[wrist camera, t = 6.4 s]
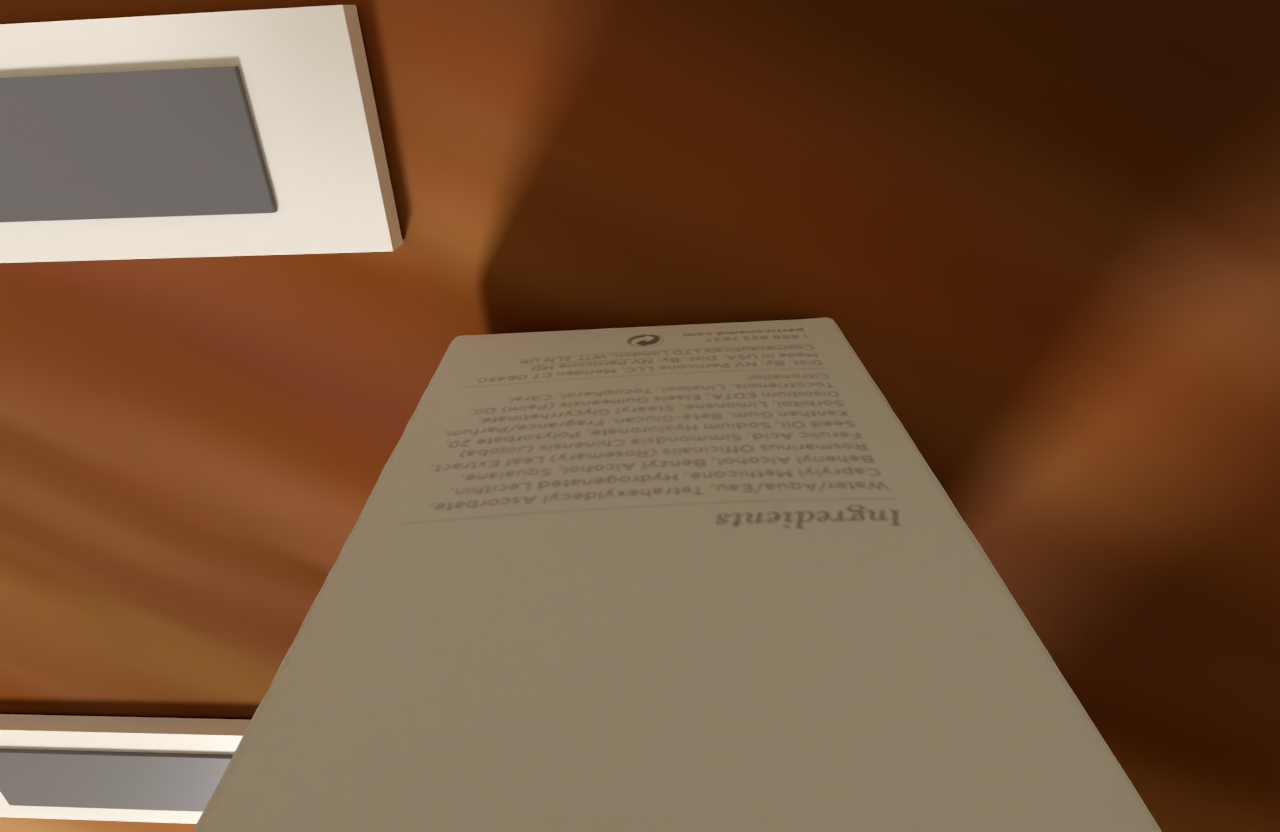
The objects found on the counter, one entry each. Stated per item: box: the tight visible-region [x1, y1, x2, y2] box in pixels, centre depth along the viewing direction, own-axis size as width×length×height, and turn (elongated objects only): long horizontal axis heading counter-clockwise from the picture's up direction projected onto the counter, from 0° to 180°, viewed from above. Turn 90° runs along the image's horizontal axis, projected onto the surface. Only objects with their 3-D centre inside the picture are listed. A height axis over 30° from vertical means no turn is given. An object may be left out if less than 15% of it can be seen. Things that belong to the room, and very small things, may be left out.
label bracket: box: [0, 5, 403, 824], centre depth 14 cm, size 16×16×1 cm
